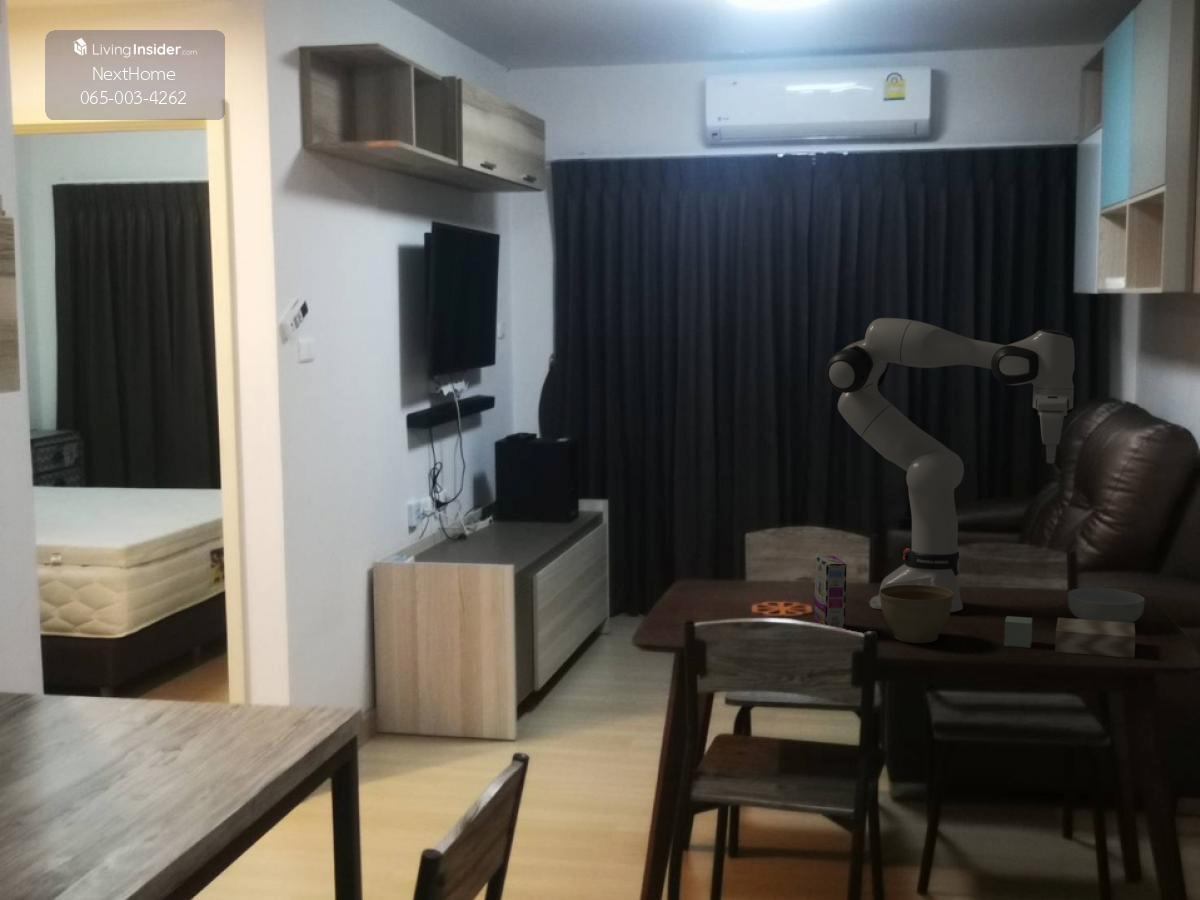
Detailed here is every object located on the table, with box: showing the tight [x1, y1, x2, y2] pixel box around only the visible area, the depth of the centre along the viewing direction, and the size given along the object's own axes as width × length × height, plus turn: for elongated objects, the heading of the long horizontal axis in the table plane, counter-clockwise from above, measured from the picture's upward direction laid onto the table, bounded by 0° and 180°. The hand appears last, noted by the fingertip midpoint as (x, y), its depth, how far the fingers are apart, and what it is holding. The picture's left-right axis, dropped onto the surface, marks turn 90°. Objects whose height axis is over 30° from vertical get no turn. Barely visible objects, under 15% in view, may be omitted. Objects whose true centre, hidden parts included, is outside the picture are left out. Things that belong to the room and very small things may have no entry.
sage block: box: [1003, 615, 1033, 649], centre depth 297 cm, size 6×6×6 cm
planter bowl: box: [879, 585, 953, 644], centre depth 302 cm, size 16×16×11 cm
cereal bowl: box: [1067, 587, 1146, 623], centre depth 314 cm, size 17×17×7 cm
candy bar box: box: [813, 555, 848, 629], centre depth 312 cm, size 11×5×16 cm, turn 5°
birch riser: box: [1054, 617, 1136, 659], centre depth 294 cm, size 16×13×5 cm
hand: (1051, 460), depth 308 cm, fingers open, 8 cm apart
